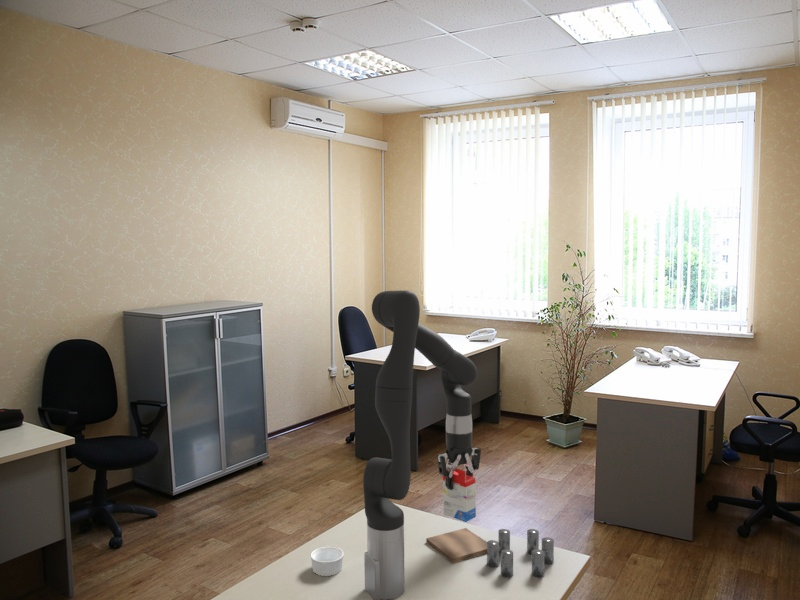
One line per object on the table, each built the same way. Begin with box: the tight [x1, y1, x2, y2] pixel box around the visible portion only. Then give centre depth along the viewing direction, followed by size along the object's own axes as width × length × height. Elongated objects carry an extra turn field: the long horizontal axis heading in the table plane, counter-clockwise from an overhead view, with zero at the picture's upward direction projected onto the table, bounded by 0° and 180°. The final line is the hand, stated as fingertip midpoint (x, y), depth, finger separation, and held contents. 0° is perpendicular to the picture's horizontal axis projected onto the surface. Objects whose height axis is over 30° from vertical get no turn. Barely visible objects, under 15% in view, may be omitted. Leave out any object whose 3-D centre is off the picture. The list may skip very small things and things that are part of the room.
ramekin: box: [310, 546, 345, 577], centre depth 162 cm, size 9×9×4 cm
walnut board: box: [425, 527, 488, 564], centre depth 174 cm, size 14×14×1 cm
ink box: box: [442, 468, 477, 523], centre depth 173 cm, size 8×5×15 cm, turn 47°
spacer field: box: [486, 528, 555, 579], centre depth 164 cm, size 17×17×6 cm
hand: (459, 486), depth 173 cm, fingers closed on ink box, 6 cm apart
